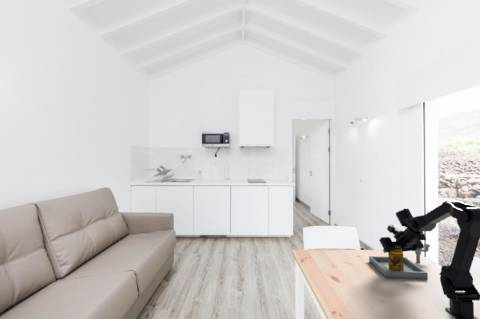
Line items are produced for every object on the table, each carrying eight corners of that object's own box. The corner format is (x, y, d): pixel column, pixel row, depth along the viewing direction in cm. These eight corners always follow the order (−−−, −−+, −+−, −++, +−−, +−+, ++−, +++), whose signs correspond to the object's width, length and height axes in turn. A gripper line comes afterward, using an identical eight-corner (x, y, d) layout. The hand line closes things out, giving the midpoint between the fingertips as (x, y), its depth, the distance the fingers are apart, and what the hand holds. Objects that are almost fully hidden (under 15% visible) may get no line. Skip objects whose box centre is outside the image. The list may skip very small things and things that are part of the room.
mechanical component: (430, 264, 126) (430, 244, 126) (408, 262, 128) (408, 243, 128) (427, 261, 129) (427, 242, 129) (406, 260, 131) (405, 241, 131)
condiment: (391, 272, 116) (390, 247, 116) (383, 265, 124) (383, 241, 124) (408, 273, 115) (407, 248, 115) (399, 266, 123) (399, 242, 123)
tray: (427, 279, 111) (427, 272, 111) (385, 278, 113) (385, 271, 113) (405, 262, 129) (405, 257, 129) (369, 261, 130) (369, 256, 130)
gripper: (418, 219, 117) (401, 235, 128) (381, 220, 115) (367, 237, 126) (433, 241, 109) (413, 256, 120) (394, 243, 107) (377, 258, 118)
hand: (392, 251), depth 121 cm, fingers open, 9 cm apart
